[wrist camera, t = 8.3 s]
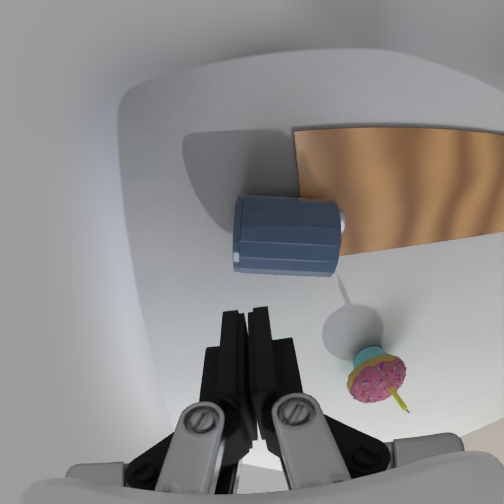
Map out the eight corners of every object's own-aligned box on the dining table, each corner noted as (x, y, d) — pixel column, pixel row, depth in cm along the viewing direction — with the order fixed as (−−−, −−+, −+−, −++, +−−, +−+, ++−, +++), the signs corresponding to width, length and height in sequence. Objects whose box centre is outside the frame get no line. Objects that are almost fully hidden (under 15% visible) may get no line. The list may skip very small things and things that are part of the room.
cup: (231, 276, 25) (338, 280, 25) (235, 189, 25) (342, 195, 25) (237, 268, 32) (321, 272, 32) (240, 200, 32) (324, 205, 32)
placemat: (304, 259, 34) (305, 260, 34) (293, 131, 28) (293, 131, 28) (532, 225, 32) (534, 226, 32) (539, 140, 27) (541, 141, 26)
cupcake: (385, 326, 38) (420, 388, 27) (399, 359, 41) (428, 416, 30) (332, 356, 40) (352, 423, 29) (352, 385, 43) (371, 445, 32)
